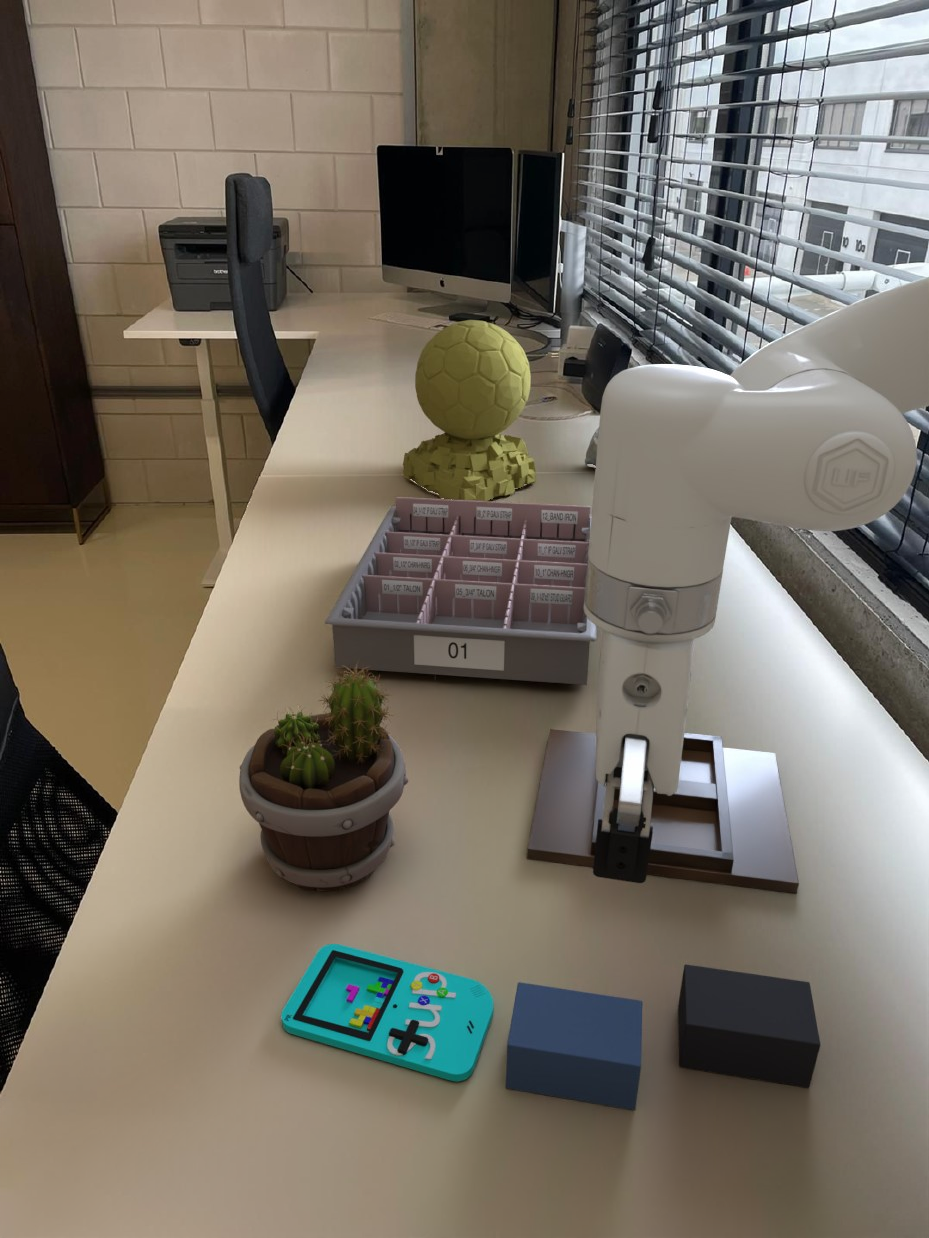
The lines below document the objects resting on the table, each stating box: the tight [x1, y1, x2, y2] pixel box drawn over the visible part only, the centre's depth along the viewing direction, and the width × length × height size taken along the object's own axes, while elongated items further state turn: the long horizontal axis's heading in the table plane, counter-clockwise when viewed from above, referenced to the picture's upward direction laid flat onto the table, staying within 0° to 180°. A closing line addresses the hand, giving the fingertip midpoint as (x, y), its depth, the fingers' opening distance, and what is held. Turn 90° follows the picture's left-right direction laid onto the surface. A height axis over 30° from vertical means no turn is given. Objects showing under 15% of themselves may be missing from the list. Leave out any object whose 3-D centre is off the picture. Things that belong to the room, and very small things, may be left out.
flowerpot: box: [238, 659, 409, 892], centre depth 83 cm, size 14×15×20 cm
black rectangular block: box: [677, 963, 821, 1089], centre depth 68 cm, size 9×6×4 cm, turn 79°
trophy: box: [402, 319, 537, 501], centre depth 174 cm, size 22×22×30 cm
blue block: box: [505, 981, 644, 1111], centre depth 67 cm, size 9×6×4 cm, turn 79°
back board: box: [526, 728, 800, 894], centre depth 93 cm, size 24×20×3 cm
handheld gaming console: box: [281, 943, 494, 1082], centre depth 72 cm, size 8×1×15 cm
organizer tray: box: [324, 496, 598, 686], centre depth 129 cm, size 32×40×10 cm
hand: (622, 825), depth 62 cm, fingers open, 9 cm apart
